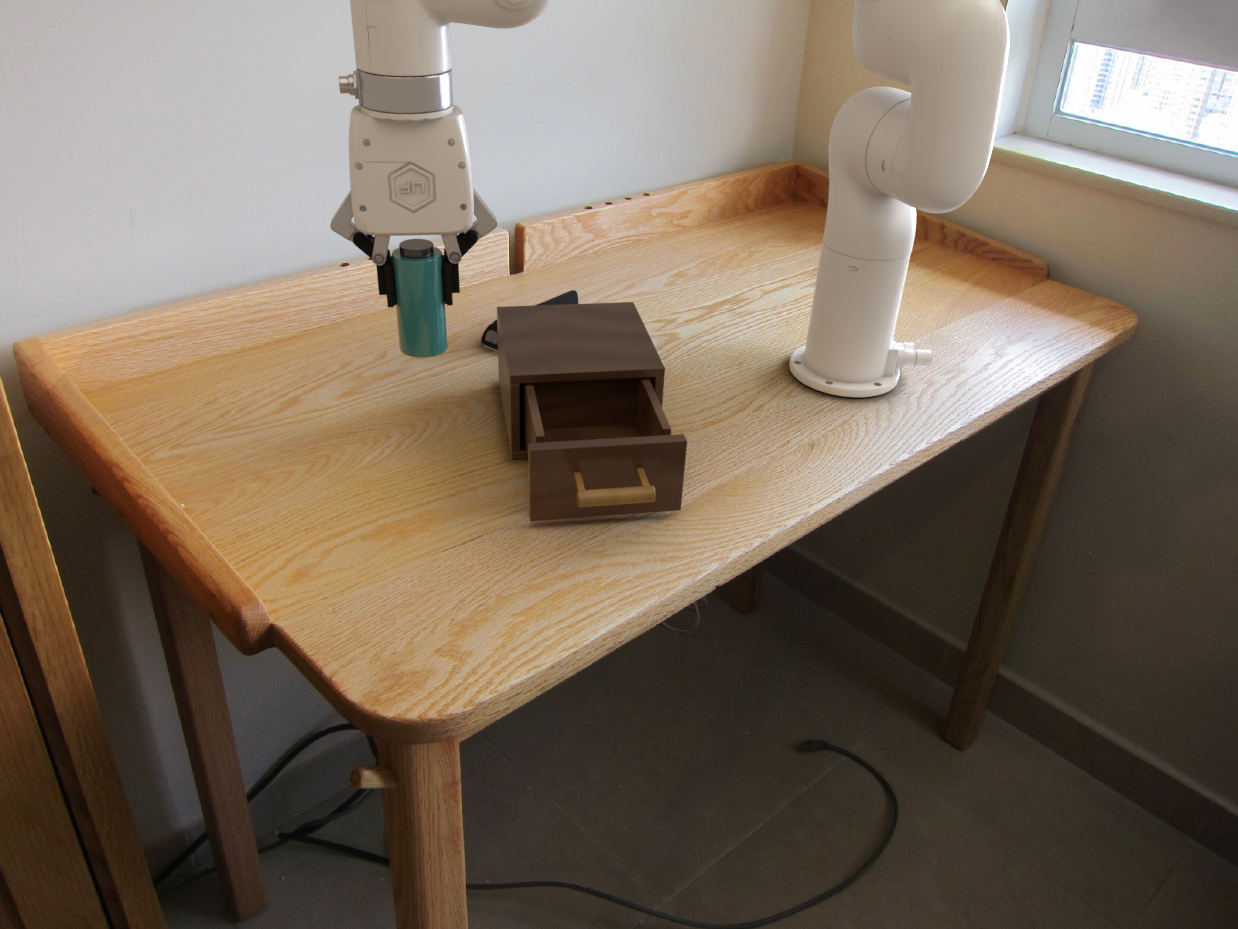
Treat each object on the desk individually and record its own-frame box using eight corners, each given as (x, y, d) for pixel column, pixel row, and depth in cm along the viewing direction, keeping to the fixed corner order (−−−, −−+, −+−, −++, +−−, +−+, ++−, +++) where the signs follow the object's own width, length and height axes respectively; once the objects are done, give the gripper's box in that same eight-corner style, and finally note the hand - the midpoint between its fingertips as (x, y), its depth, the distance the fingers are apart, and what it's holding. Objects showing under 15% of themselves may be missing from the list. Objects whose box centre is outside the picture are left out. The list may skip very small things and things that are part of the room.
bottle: (450, 338, 94) (445, 236, 88) (443, 358, 90) (437, 254, 84) (404, 336, 93) (395, 234, 88) (395, 356, 90) (386, 252, 84)
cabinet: (659, 450, 99) (665, 368, 94) (511, 460, 96) (509, 375, 91) (629, 377, 112) (633, 301, 107) (498, 384, 109) (496, 306, 104)
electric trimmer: (586, 316, 126) (586, 292, 124) (501, 354, 115) (501, 329, 114) (563, 308, 128) (564, 284, 126) (478, 344, 117) (478, 320, 115)
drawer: (692, 539, 85) (699, 467, 81) (535, 551, 82) (535, 478, 78) (647, 428, 100) (652, 363, 96) (514, 436, 98) (513, 370, 94)
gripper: (293, 101, 75) (321, 321, 85) (514, 102, 78) (516, 314, 88) (302, 80, 81) (327, 287, 91) (506, 82, 84) (509, 282, 94)
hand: (420, 298), depth 89 cm, fingers closed on bottle, 4 cm apart
